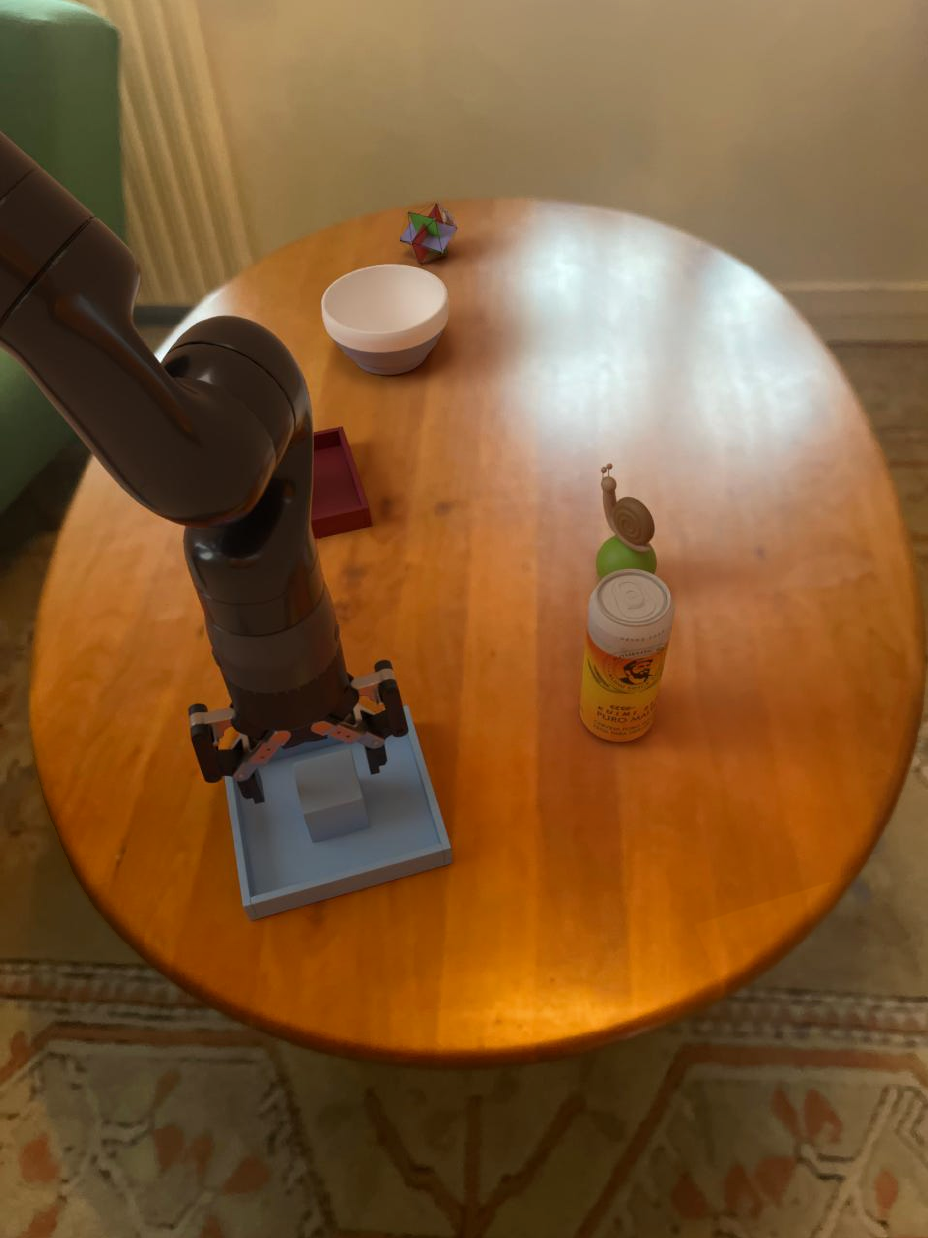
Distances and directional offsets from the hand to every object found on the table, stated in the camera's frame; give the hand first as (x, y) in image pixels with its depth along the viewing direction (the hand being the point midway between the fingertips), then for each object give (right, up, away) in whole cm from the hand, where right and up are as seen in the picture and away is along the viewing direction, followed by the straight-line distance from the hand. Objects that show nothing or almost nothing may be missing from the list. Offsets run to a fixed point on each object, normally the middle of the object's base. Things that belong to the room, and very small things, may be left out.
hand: (316, 778), depth 70 cm
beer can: (+23, +4, +9) cm, 25 cm away
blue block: (+1, -3, +3) cm, 5 cm away
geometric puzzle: (+6, +60, +57) cm, 83 cm away
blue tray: (+1, -3, +4) cm, 5 cm away
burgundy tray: (-7, +24, +27) cm, 37 cm away
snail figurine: (+25, +15, +18) cm, 35 cm away
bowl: (+2, +43, +43) cm, 61 cm away
